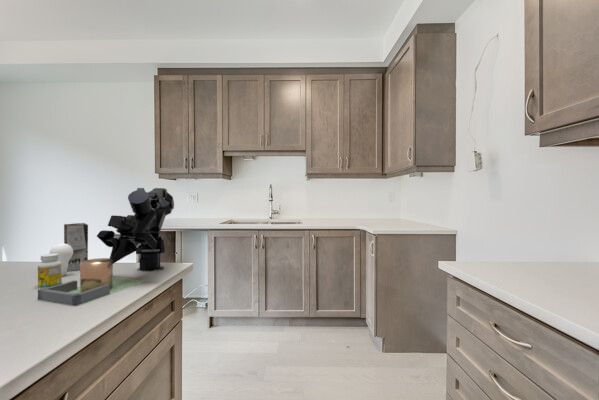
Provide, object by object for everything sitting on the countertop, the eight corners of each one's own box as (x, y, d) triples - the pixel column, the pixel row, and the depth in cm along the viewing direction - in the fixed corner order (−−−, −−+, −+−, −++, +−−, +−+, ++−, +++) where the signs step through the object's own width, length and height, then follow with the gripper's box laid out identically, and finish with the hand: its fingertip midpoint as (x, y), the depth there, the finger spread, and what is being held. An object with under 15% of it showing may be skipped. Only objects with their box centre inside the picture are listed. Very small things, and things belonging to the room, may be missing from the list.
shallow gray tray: (73, 288, 86) (73, 280, 86) (109, 293, 82) (109, 284, 82) (37, 299, 77) (37, 290, 77) (75, 305, 74) (75, 295, 73)
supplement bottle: (64, 286, 90) (64, 254, 90) (42, 291, 85) (42, 257, 85) (56, 283, 92) (56, 252, 92) (34, 288, 88) (34, 255, 88)
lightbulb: (78, 274, 102) (77, 242, 102) (62, 279, 96) (62, 245, 96) (61, 273, 103) (61, 241, 103) (44, 278, 97) (44, 244, 97)
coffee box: (88, 268, 110) (88, 224, 110) (66, 271, 106) (66, 225, 105) (84, 264, 117) (84, 222, 116) (63, 266, 113) (63, 223, 112)
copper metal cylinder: (99, 283, 91) (99, 257, 90) (118, 286, 88) (118, 259, 88) (73, 291, 83) (73, 262, 83) (94, 295, 81) (94, 265, 81)
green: (112, 278, 98) (112, 276, 98) (146, 282, 95) (146, 280, 95) (37, 301, 77) (37, 299, 77) (76, 308, 73) (76, 305, 73)
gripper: (102, 205, 97) (67, 244, 87) (150, 206, 92) (119, 249, 81) (122, 227, 105) (93, 266, 94) (168, 229, 100) (142, 271, 89)
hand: (110, 263), depth 90 cm, fingers closed
